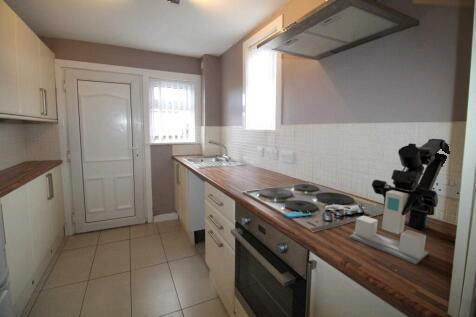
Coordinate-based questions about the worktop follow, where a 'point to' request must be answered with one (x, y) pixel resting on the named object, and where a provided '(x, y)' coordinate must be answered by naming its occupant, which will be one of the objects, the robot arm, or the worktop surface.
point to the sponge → (295, 215)
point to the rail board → (390, 240)
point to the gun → (345, 207)
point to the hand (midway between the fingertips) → (393, 212)
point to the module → (394, 211)
